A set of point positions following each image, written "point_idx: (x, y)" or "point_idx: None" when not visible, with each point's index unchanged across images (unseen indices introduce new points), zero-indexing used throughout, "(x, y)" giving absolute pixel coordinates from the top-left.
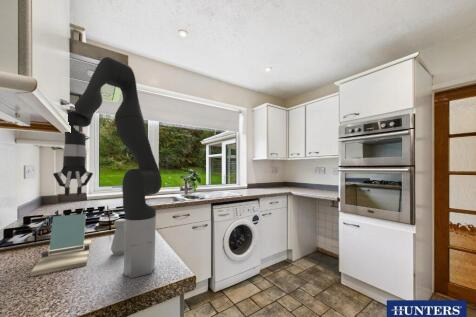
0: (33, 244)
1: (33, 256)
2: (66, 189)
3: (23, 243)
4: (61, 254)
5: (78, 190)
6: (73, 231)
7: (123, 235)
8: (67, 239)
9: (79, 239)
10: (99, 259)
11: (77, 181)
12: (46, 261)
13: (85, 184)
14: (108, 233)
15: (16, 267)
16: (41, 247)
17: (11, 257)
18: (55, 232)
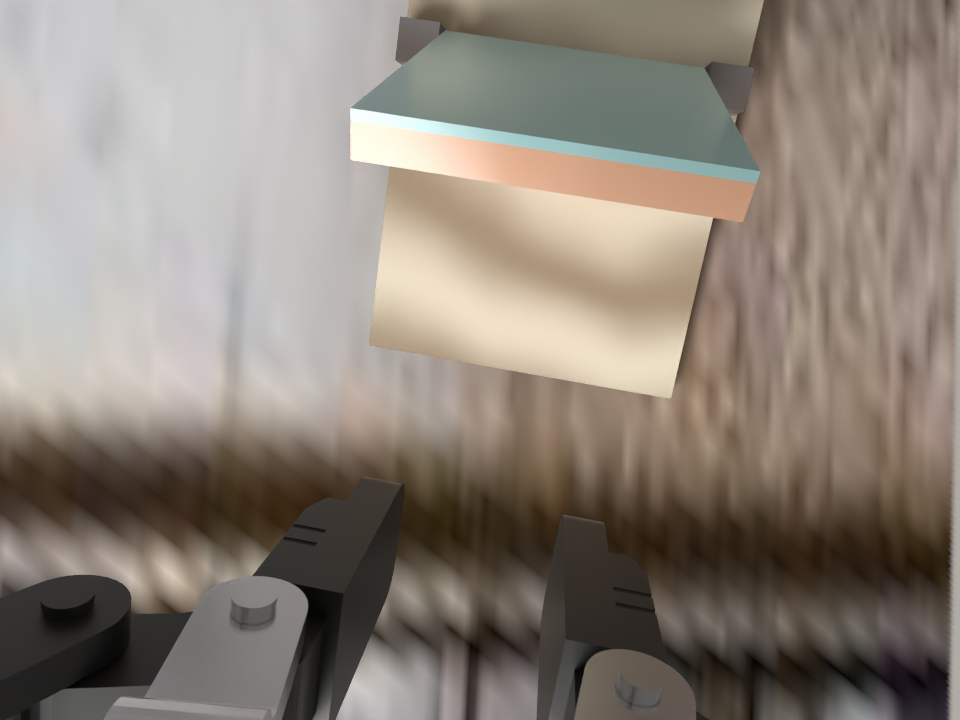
0: (771, 577)
1: (781, 242)
2: (624, 645)
3: (833, 659)
4: (609, 36)
5: (340, 536)
6: (516, 74)
7: None
8: (570, 62)
9: (470, 45)
10: None
11: (255, 710)
12: None
13: (63, 590)
14: (238, 484)
15: (890, 43)
16: (723, 448)
17: (914, 333)
18: (686, 103)
